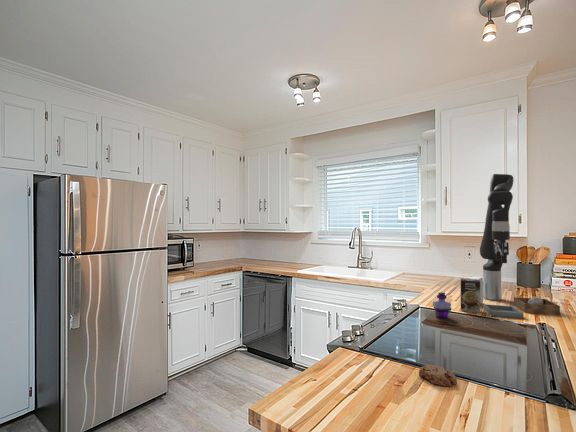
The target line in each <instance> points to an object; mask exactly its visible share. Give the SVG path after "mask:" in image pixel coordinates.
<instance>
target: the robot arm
mask: <svg viewBox="0 0 576 432" xmlns="http://www.w3.org/2000/svg"><path fill="white" fill-rule="evenodd" d="M513 185H514V176H513V175H512V174H508V173H505V174H504V173H503V174H502V173H494V174H492V175H491V177H490V183H489V193H488V195H487V202H488V203H487V209H486V215H485V221H484V223H485V224H484V230H483V235H482V239H481V242H480V246H479V254H480V257H481V258H482V259H484V260H487V262H486V263H485V264H483V265H482V269H483V270H482V278H483V299H484V300H490V301H502V295H503V294H502V267H503V265H504V264H508V256H509V255H510V248H509V247H510V246H509V242H506V241H508V240H509V241H510V237H511V230H510V229H511V227H510V215H509V214H510V207H511V206H512V201H513V197H514V196H513V193H512V192H510V191H511V190H512V189H513Z"/></svg>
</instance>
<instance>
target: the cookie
mask: <svg viewBox="0 0 576 432" xmlns="http://www.w3.org/2000/svg"><path fill="white" fill-rule="evenodd" d="M418 374H419V376H420V377H421V378H423V379H424V380H427V381H429V383H431V384H433V385H439V386H442V387H450V388H451V387H452V386H456V385H457V383H458V380H457V377H456V375H455V373H454V372H453V371H450V370H448V369H447V370H446V369H445V368H444V367H442V366H439V365H434V364H425V365H423V366H421V367H420V368H419V371H418Z"/></svg>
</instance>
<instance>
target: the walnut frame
mask: <svg viewBox="0 0 576 432" xmlns="http://www.w3.org/2000/svg"><path fill="white" fill-rule="evenodd" d="M531 298H532V297H517V296H516V297H515V296H514V297H513V307H515V308H516V309H518V310H519V311H521V312H522V313H526V314H537V315H539V314H540V315H541V314H542V315H552V316H553V315H554V316H561V306H560V305H558V304H557V303H555V302H553V301H551V300H549V299H547V298H541V300H542V301H543V304H528V300H529V299H531Z"/></svg>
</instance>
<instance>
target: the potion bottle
mask: <svg viewBox="0 0 576 432" xmlns="http://www.w3.org/2000/svg"><path fill="white" fill-rule="evenodd" d="M436 298H437V299H438V300H434V301H433V302H432V306H433V310H434V312H435V317H436V318H438V319H442V320H444V319H445V320H448V319H449V314H451V313H452V303H451V302H449V301H446V299H447V294H446V293H445V292H441V291H439V292H438V293H437V294H436Z"/></svg>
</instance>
